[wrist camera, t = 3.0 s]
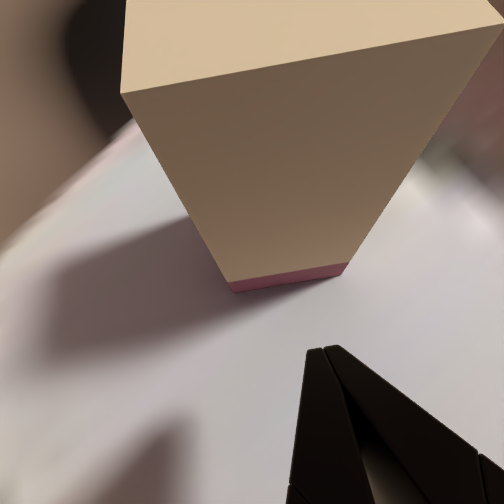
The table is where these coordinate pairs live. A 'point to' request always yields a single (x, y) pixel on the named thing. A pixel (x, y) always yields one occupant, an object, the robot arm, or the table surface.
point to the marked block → (294, 116)
